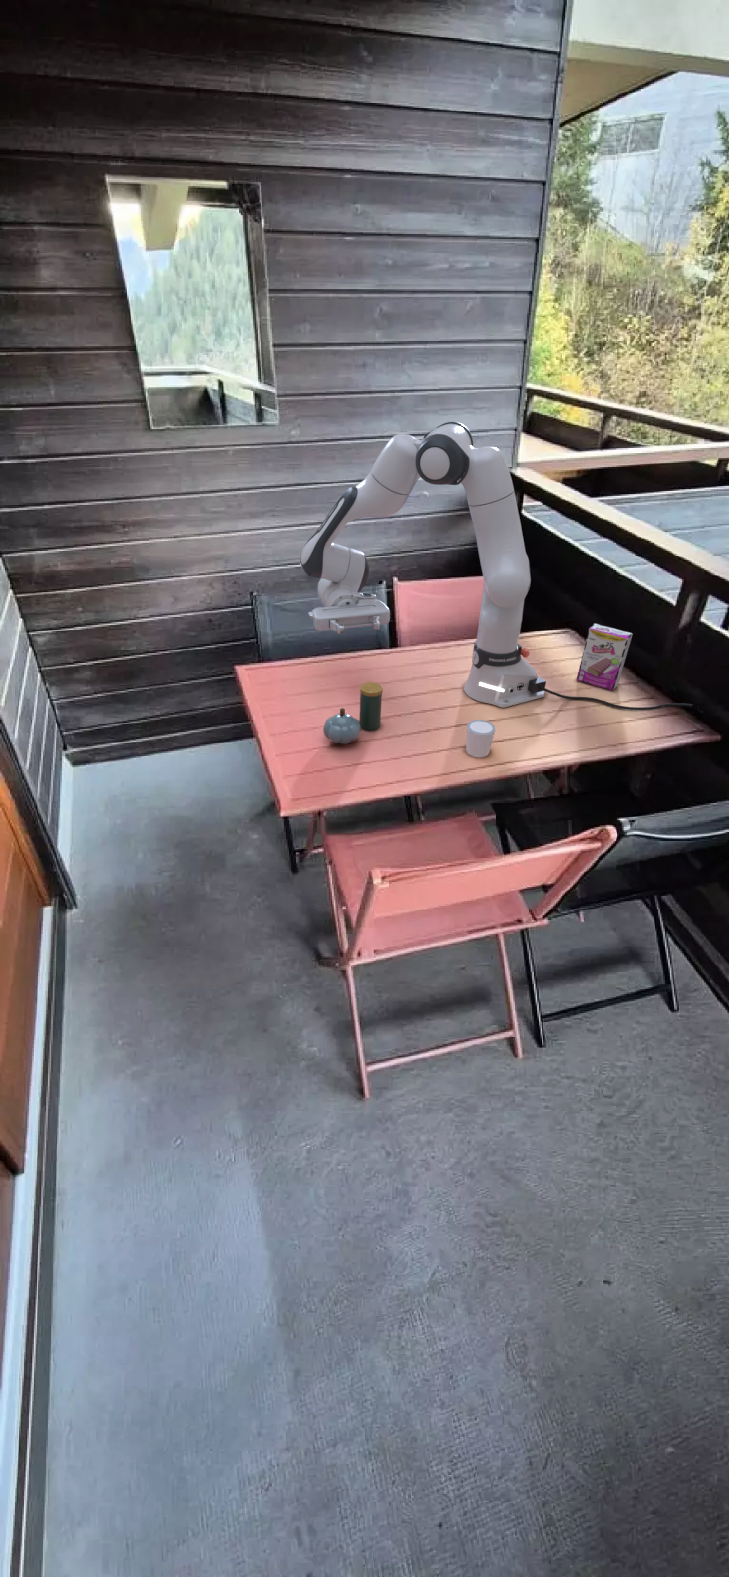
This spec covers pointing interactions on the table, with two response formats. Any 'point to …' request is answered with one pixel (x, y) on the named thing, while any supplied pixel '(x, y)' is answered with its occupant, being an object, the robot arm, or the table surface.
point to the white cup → (479, 738)
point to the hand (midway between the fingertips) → (359, 628)
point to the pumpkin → (342, 728)
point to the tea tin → (370, 706)
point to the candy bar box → (604, 656)
